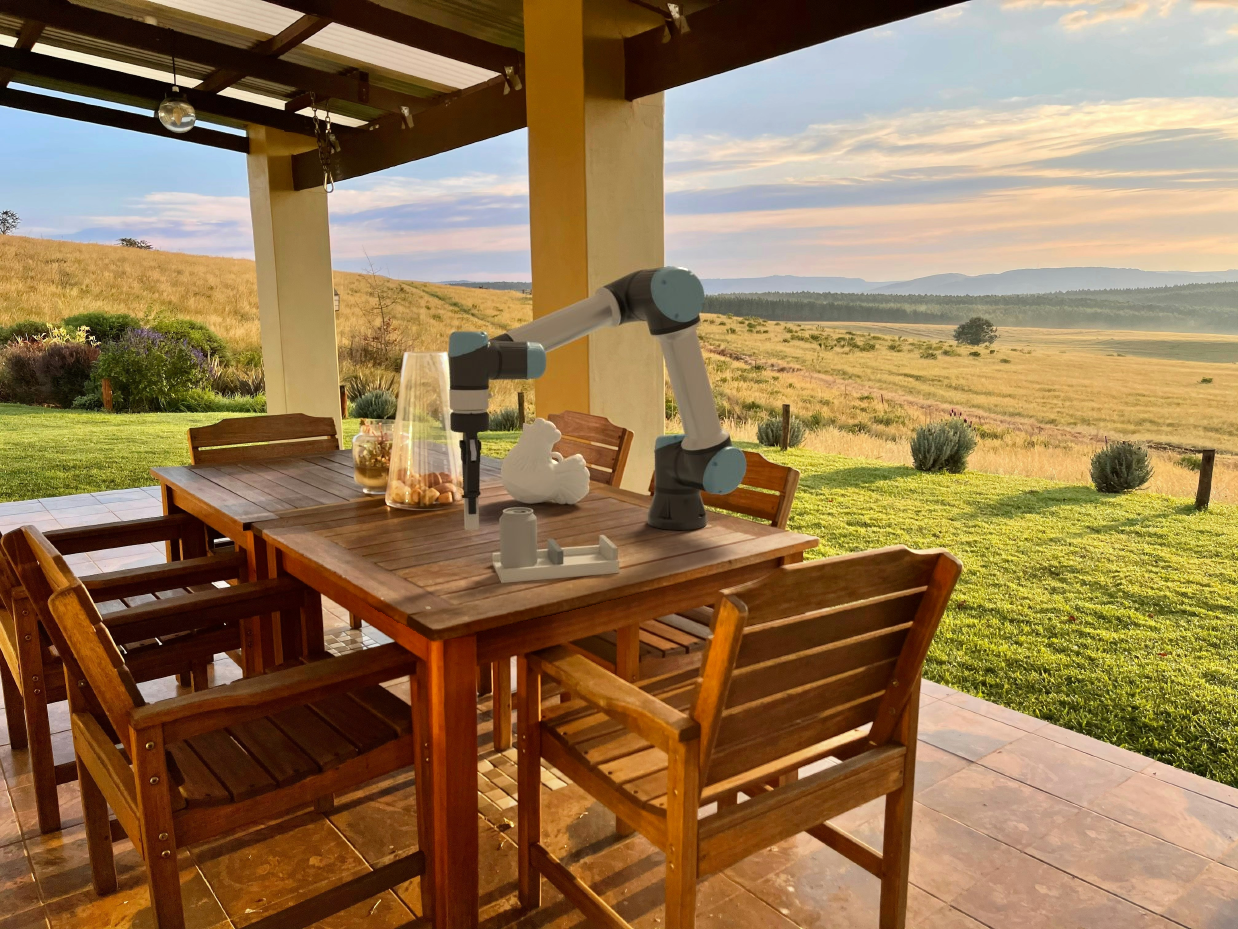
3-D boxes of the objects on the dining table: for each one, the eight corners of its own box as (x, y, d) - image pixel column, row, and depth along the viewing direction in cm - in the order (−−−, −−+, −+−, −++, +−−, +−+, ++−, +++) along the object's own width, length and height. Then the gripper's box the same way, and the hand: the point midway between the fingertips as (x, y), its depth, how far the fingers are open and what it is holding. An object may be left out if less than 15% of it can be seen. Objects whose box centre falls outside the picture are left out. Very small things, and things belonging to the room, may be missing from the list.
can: (541, 562, 169) (540, 506, 167) (531, 573, 162) (530, 514, 160) (507, 560, 170) (506, 504, 168) (495, 571, 163) (493, 512, 161)
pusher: (553, 556, 173) (552, 538, 172) (563, 570, 163) (563, 551, 163) (547, 556, 173) (547, 538, 172) (557, 570, 163) (557, 551, 162)
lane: (602, 555, 178) (602, 533, 177) (619, 572, 165) (619, 549, 164) (492, 564, 171) (492, 541, 170) (501, 582, 159) (500, 558, 158)
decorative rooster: (483, 479, 230) (514, 416, 216) (518, 461, 243) (550, 401, 228) (545, 538, 225) (581, 477, 210) (578, 517, 237) (614, 458, 223)
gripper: (493, 414, 153) (494, 535, 157) (484, 407, 165) (486, 520, 169) (452, 414, 151) (455, 537, 155) (447, 408, 163) (450, 522, 167)
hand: (471, 528), depth 162 cm, fingers closed
